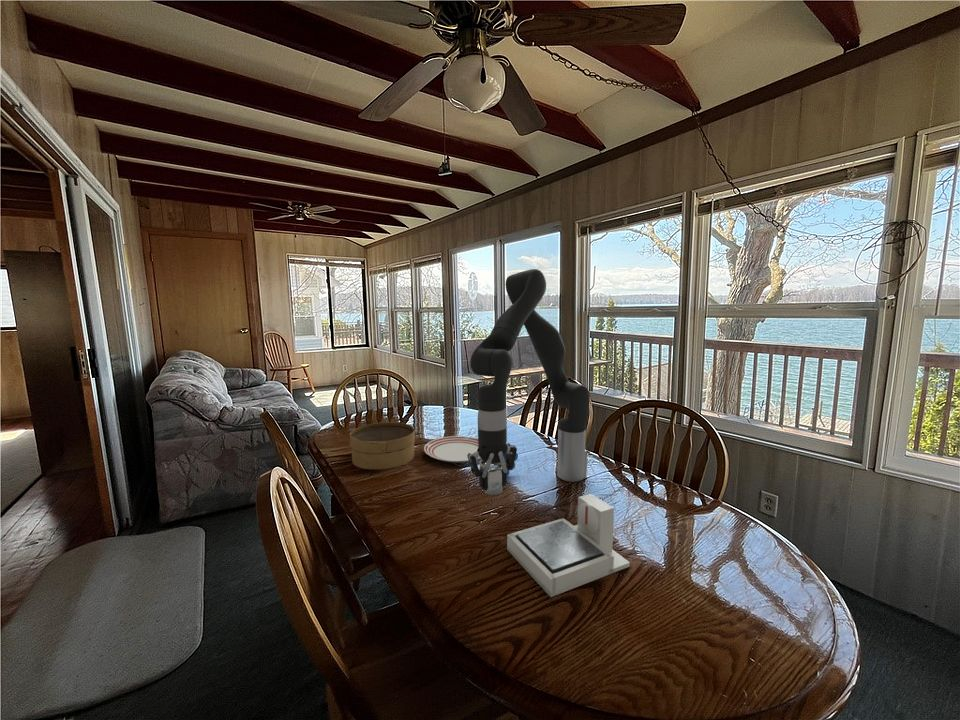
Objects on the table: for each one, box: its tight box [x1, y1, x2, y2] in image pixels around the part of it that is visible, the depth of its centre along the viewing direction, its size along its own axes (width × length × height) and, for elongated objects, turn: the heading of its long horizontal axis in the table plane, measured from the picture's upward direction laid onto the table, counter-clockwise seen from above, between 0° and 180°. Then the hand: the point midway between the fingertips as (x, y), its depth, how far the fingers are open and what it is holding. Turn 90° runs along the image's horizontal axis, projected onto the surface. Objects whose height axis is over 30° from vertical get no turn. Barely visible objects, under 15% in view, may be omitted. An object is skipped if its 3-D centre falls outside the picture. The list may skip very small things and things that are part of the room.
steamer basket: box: [349, 421, 416, 470], centre depth 158 cm, size 25×25×11 cm
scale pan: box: [517, 521, 603, 574], centre depth 93 cm, size 14×15×1 cm
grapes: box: [492, 442, 519, 477], centre depth 139 cm, size 12×7×12 cm, turn 127°
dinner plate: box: [423, 435, 481, 464], centre depth 161 cm, size 28×27×3 cm
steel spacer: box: [484, 464, 503, 496], centre depth 105 cm, size 5×5×6 cm
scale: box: [506, 493, 631, 598], centre depth 94 cm, size 22×18×12 cm
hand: (493, 487), depth 105 cm, fingers closed on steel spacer, 4 cm apart
